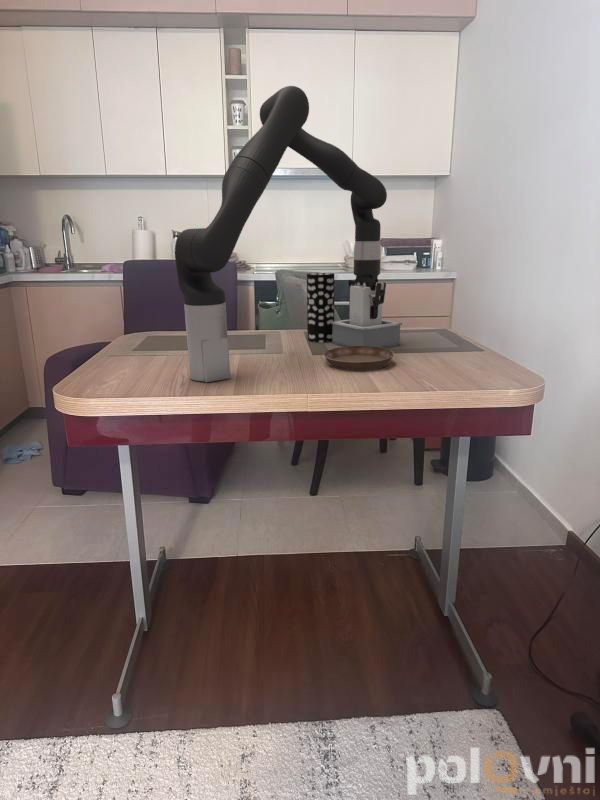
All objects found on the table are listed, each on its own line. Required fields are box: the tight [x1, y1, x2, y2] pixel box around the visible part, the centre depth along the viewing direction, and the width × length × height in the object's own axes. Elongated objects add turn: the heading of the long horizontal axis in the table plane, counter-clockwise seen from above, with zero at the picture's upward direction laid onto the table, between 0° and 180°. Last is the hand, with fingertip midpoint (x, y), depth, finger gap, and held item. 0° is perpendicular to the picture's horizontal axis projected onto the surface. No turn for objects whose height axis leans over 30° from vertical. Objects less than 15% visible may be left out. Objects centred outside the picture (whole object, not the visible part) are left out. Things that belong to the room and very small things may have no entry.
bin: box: [331, 318, 403, 349], centre depth 158 cm, size 15×15×6 cm
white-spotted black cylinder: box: [306, 272, 335, 344], centre depth 163 cm, size 8×8×20 cm
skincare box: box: [349, 286, 383, 327], centre depth 156 cm, size 8×6×15 cm
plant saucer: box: [323, 346, 395, 371], centre depth 136 cm, size 18×18×3 cm
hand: (365, 317), depth 156 cm, fingers closed on skincare box, 6 cm apart
